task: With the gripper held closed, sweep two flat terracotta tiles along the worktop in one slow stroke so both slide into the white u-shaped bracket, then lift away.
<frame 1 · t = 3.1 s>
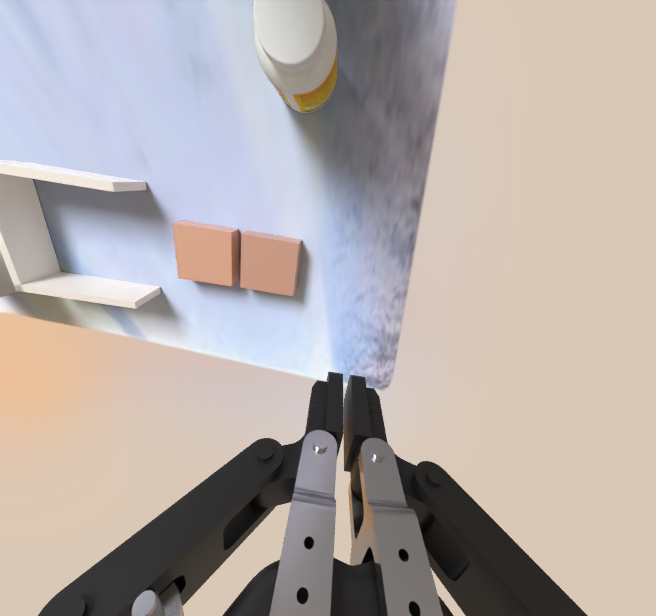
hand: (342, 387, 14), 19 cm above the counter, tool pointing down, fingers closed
supplement bottle: (307, 78, 23), on the counter
can: (7, 258, 32), on the counter
tile b: (273, 260, 31), on the counter
white u-shaped bracket: (97, 233, 30), on the counter
tile a: (213, 250, 31), on the counter
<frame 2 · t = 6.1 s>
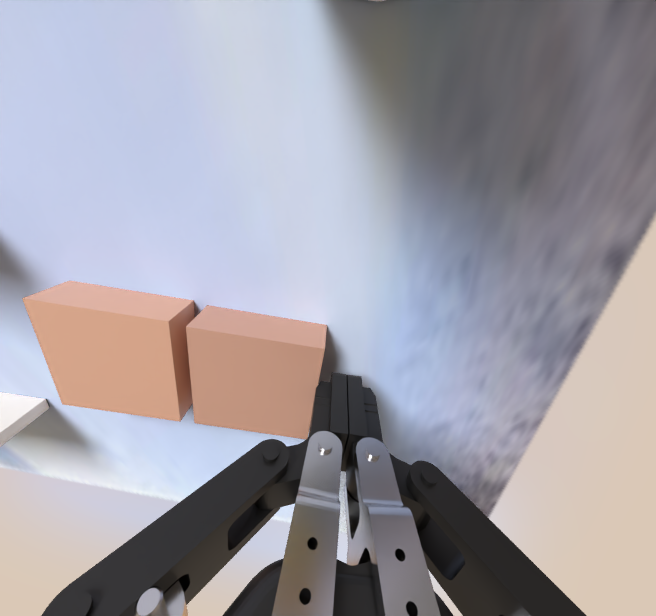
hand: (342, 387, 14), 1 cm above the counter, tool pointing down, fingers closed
tile b: (266, 357, 15), on the counter, touching gripper
tile a: (145, 338, 15), on the counter
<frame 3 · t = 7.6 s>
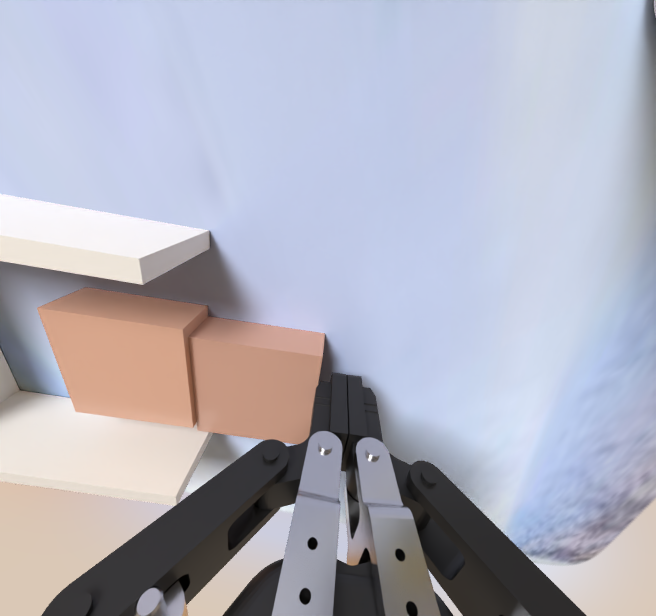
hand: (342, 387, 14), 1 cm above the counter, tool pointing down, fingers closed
tile b: (266, 365, 15), on the counter, touching gripper
white u-shaped bracket: (92, 329, 14), on the counter
tile a: (157, 344, 15), on the counter
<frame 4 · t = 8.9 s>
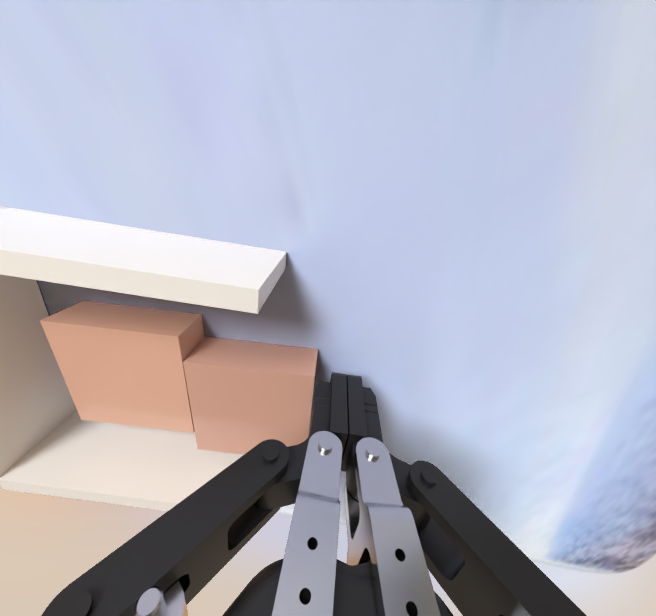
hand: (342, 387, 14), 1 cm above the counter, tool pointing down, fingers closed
tile b: (263, 382, 16), on the counter
white u-shaped bracket: (159, 347, 14), on the counter
tile a: (157, 352, 15), on the counter
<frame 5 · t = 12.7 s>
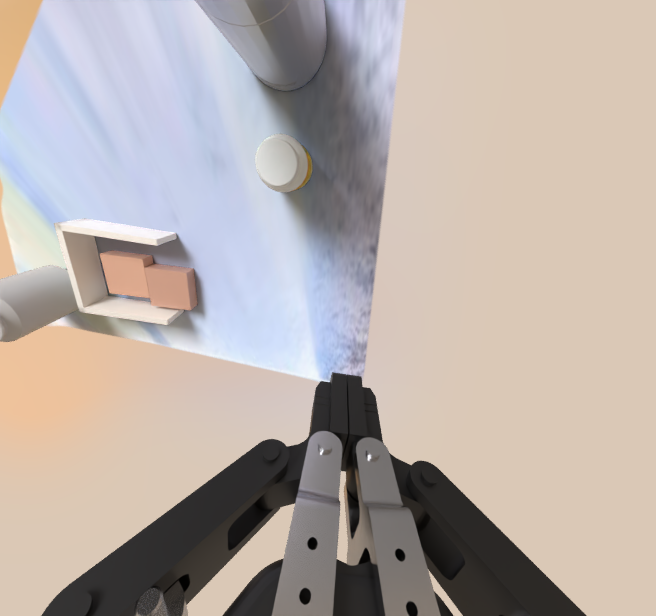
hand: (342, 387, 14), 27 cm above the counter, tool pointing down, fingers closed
supplement bottle: (292, 167, 34), on the counter
can: (68, 286, 42), on the counter
tile b: (177, 283, 42), on the counter
white u-shaped bracket: (137, 268, 40), on the counter
tile a: (137, 271, 41), on the counter
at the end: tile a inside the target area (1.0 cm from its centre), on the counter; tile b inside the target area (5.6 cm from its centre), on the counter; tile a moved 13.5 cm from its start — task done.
